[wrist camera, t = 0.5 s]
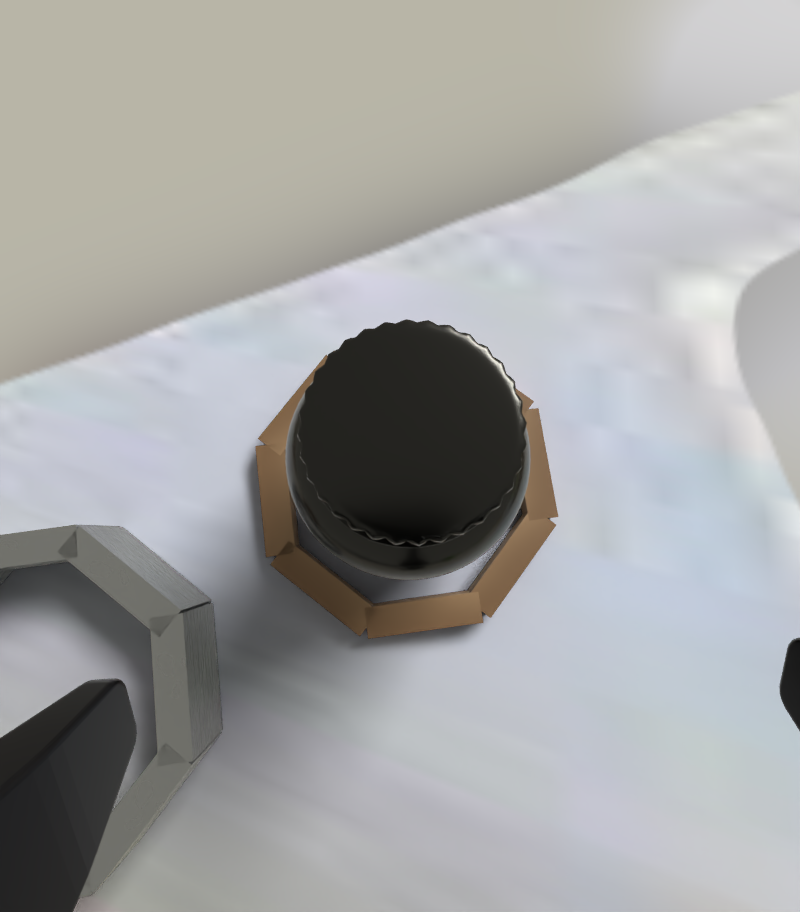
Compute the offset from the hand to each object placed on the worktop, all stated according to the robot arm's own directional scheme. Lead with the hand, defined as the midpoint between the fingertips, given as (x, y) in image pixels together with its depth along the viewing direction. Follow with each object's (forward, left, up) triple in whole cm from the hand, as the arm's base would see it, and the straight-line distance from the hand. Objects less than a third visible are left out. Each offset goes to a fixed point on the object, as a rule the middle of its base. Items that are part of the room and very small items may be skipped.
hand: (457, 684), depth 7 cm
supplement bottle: (+3, +3, -15) cm, 16 cm away
